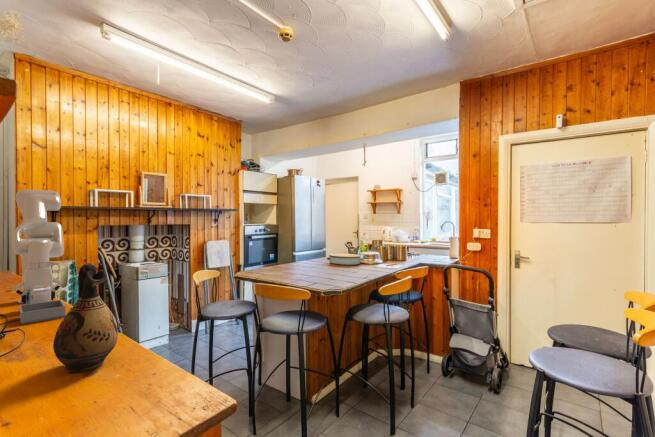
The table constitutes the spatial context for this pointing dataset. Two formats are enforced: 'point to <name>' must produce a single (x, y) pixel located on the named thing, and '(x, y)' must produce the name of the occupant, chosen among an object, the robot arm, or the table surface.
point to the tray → (41, 312)
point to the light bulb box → (38, 295)
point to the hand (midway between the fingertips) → (38, 301)
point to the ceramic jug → (86, 326)
